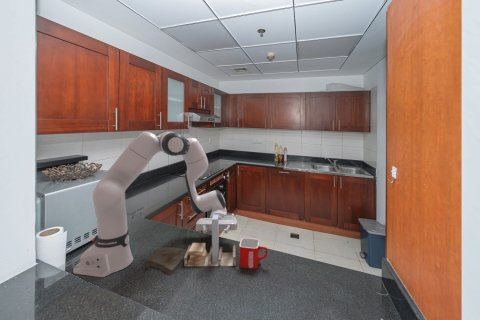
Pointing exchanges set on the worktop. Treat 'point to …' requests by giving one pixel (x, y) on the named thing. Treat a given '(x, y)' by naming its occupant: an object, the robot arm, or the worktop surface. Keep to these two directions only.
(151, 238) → the worktop surface
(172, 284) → the worktop surface
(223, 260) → the offcut rack
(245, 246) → the mug
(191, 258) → the offcut stack
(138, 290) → the worktop surface
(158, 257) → the brown flat slab
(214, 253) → the tall board
